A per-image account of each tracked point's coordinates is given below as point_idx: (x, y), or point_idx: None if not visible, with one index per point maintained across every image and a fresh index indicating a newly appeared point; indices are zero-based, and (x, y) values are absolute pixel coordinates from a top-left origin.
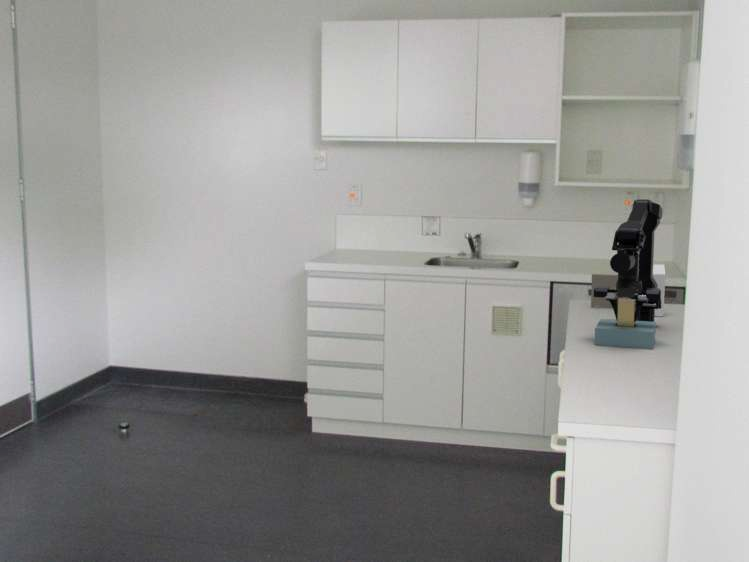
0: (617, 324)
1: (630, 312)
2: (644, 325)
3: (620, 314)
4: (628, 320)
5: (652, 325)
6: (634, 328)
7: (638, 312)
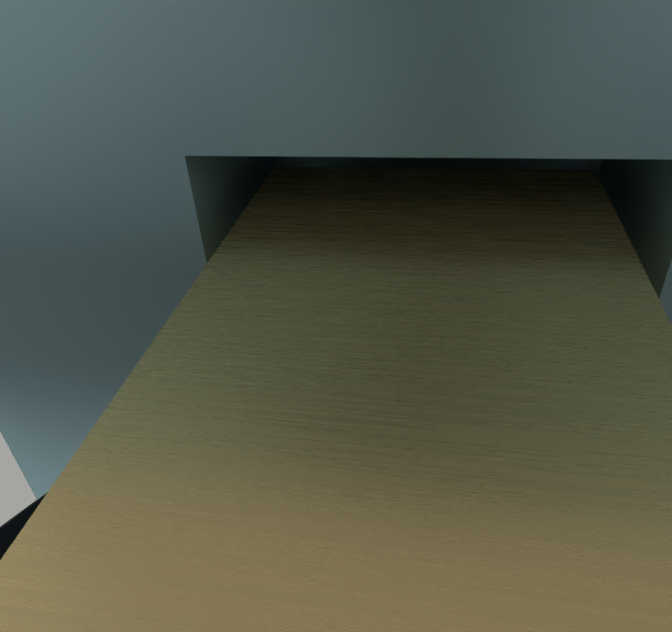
0: (622, 232)
1: (207, 467)
2: (114, 384)
3: (606, 419)
4: (333, 287)
5: (17, 408)
6: (177, 1)
7: (5, 527)
